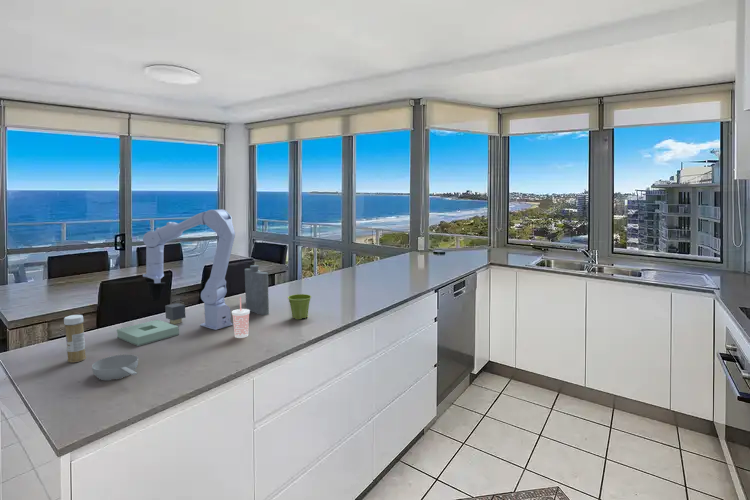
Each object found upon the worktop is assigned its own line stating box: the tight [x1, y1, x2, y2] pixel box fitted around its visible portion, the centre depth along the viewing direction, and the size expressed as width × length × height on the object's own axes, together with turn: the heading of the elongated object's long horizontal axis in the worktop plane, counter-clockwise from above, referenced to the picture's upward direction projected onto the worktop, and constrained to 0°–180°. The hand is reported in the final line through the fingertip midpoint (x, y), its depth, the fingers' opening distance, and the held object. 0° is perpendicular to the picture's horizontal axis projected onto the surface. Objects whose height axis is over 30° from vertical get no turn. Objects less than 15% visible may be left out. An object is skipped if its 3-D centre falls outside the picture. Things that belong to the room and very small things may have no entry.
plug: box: [164, 302, 186, 325], centre depth 157 cm, size 5×5×7 cm
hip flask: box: [244, 264, 270, 316], centre depth 174 cm, size 16×4×20 cm, turn 46°
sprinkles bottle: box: [63, 314, 87, 363], centre depth 120 cm, size 5×5×14 cm
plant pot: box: [287, 293, 312, 320], centre depth 166 cm, size 9×9×9 cm
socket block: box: [116, 319, 180, 347], centre depth 142 cm, size 14×14×3 cm
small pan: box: [91, 354, 139, 381], centre depth 110 cm, size 11×18×4 cm, turn 52°
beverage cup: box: [231, 296, 251, 339], centre depth 143 cm, size 6×6×14 cm
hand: (154, 297), depth 155 cm, fingers open, 7 cm apart
